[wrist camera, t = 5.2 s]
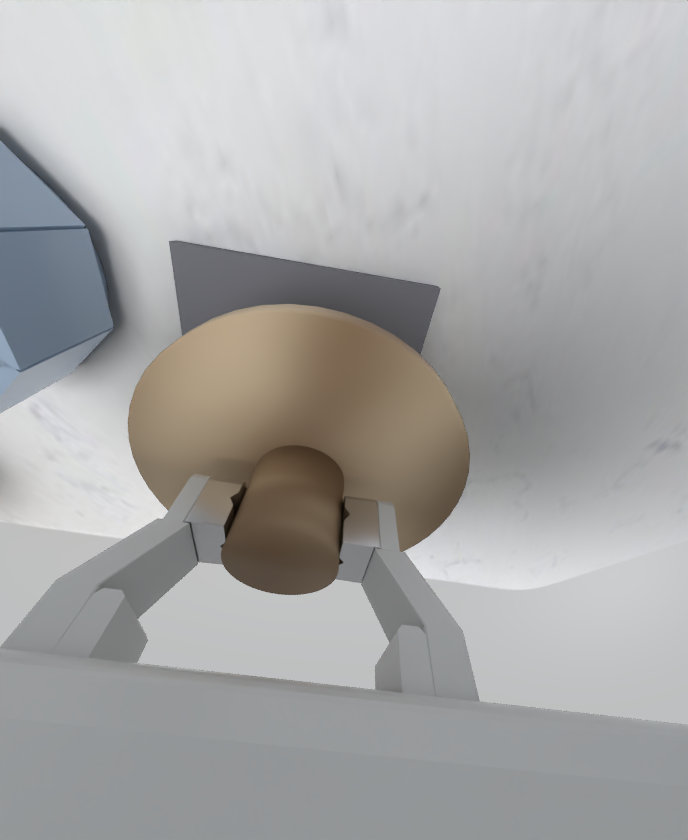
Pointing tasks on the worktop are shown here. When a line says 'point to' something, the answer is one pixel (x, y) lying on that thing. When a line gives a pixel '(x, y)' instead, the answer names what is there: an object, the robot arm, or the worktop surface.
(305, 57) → the worktop surface
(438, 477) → the lid
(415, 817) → the robot arm
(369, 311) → the mat
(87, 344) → the bowl
